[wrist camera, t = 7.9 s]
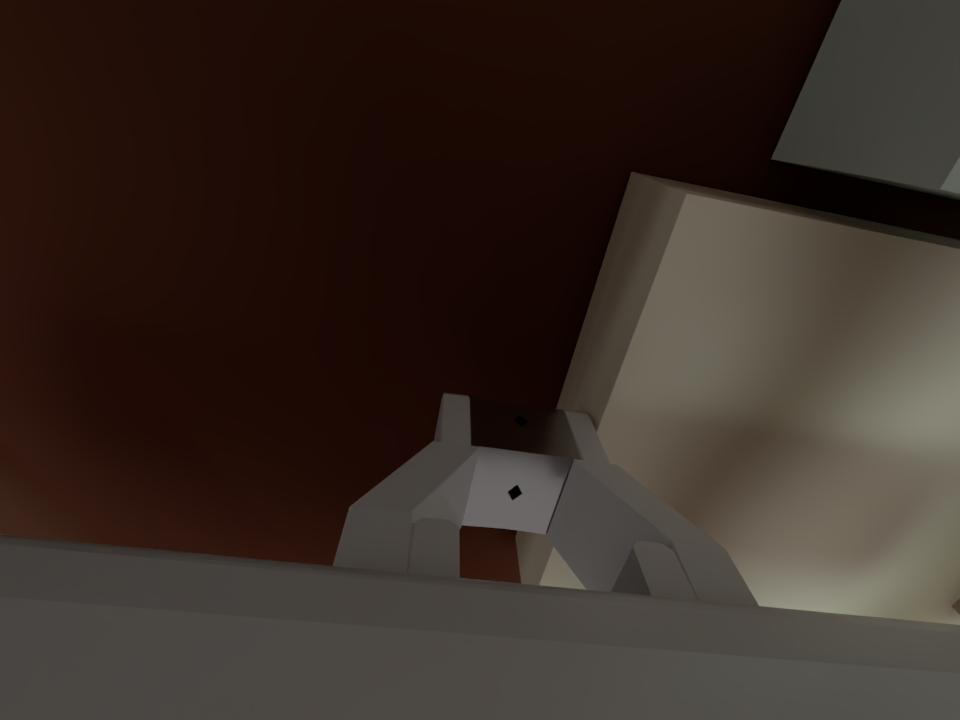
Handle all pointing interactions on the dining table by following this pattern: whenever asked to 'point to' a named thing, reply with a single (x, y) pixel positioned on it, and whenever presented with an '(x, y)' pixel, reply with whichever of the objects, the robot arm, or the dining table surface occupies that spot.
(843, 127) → the tray
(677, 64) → the dining table surface
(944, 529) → the board
